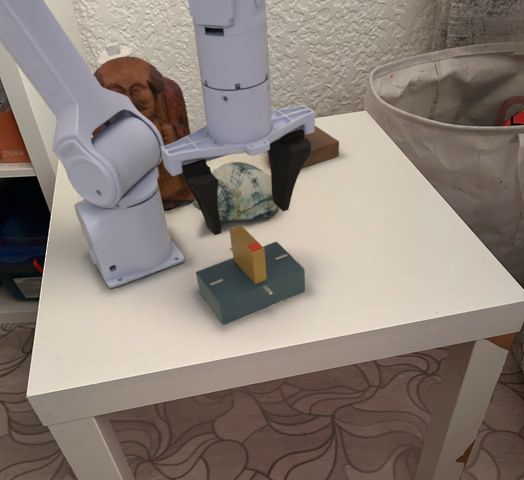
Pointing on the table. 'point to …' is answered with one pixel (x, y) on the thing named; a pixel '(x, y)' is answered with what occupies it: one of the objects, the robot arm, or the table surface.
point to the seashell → (243, 193)
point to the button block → (321, 147)
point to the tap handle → (248, 254)
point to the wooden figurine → (152, 112)
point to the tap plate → (250, 284)
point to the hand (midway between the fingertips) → (248, 217)
